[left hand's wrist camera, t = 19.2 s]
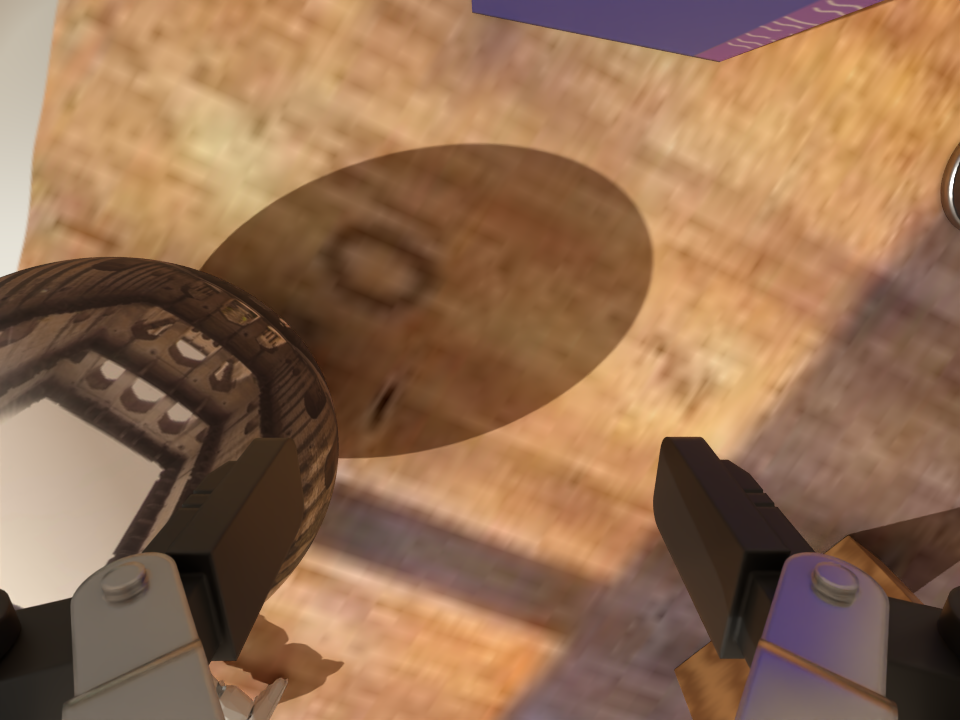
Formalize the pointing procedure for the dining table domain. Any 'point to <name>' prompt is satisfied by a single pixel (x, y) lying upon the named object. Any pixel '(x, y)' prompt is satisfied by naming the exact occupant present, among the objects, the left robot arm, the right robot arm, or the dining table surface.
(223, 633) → the left robot arm
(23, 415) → the sphere
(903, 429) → the dining table surface
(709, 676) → the bar
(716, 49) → the cereal box
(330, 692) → the dining table surface
